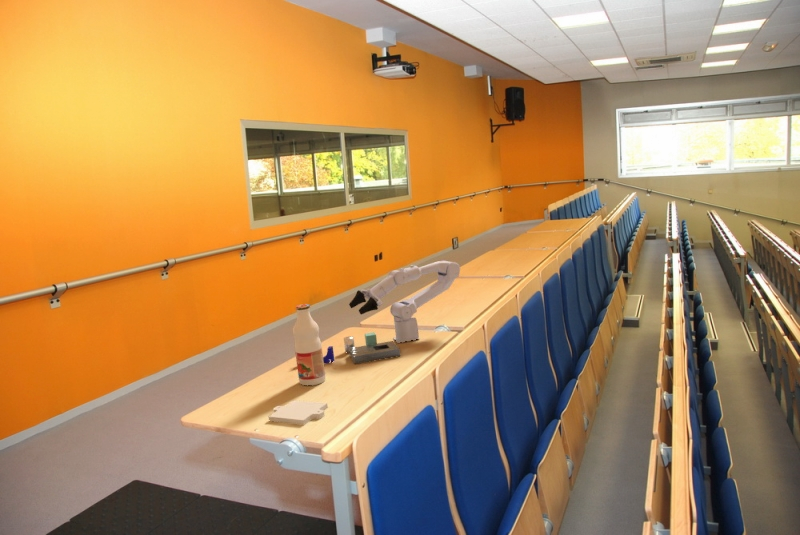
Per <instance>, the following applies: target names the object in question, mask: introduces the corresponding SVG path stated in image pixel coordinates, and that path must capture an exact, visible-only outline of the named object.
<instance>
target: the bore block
mask: <svg viewBox="0 0 800 535" xmlns="http://www.w3.org/2000/svg"><path fill="white" fill-rule="evenodd" d="M400 351H401V349H400V347H398V345H397V344H396V343H395V342H394V340H390V341H386V342H385V341H384V342H379V343H378V342H377V344H372V345H366V344H365V345H361V346H355V347H354V348H349V353H348V354H349V357H350V356H351V357H350V359H351V358H352V359H351V361H352V362H353V364H354V365H359V364H364V362H365V363H370V362H369V361H371V362H375V361H374V360H376V361H380V360H379V359H382V360H386V359H385V358H388V359H392V358H391V357H393V358H397V357H396V356H399V357H401V352H400Z"/></svg>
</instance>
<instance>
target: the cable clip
mask: <svg viewBox="0 0 800 535" xmlns="http://www.w3.org/2000/svg"><path fill="white" fill-rule="evenodd" d="M326 349H327V350H326V351H327V352H326V355H323V361H324V364H333V363H334V362H335V354H334V346H333V345H332V346H328V347H327V348H326ZM330 360H331V363H329V362H330ZM333 361H334V362H333ZM332 362H333V363H332Z"/></svg>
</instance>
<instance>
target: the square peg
mask: <svg viewBox="0 0 800 535" xmlns="http://www.w3.org/2000/svg"><path fill="white" fill-rule="evenodd" d="M364 340H365V346H366V345H372V344H378V341H377V334H376V332H375V331H373V332H368V333H364Z"/></svg>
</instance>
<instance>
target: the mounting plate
mask: <svg viewBox="0 0 800 535" xmlns="http://www.w3.org/2000/svg"><path fill="white" fill-rule="evenodd" d="M328 408H329V406H328V402H318V401H317V402H316V401H307V400H306V401H305V400H295V399H294V400H291V401H290V402H288V403H287V404H286V405H276V406H275V407H273V408H272V409H273V413H271V414H270V415H269V416H268V421H269V420H270V421H269V422H272V421H274V423H283V424H291V425H297V426H298V425H300V426H305V425H307V424H308V423H309V422H311V421H312V420H314V419H317V420H318V419H319V420H320V419H323V418H324V417H325V410H327V409H328Z"/></svg>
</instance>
